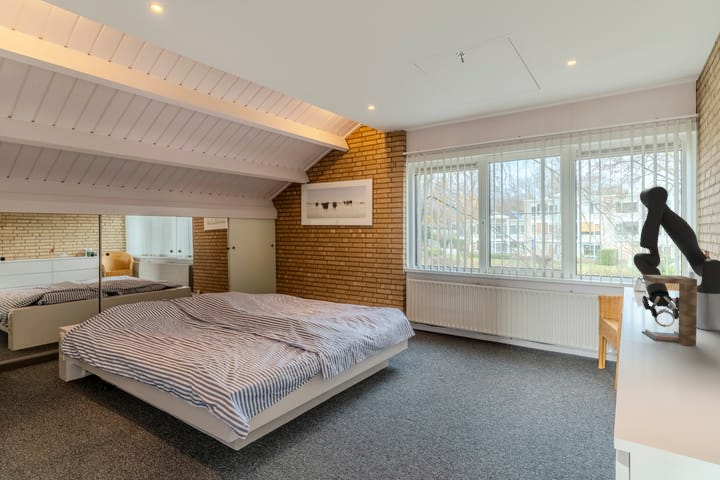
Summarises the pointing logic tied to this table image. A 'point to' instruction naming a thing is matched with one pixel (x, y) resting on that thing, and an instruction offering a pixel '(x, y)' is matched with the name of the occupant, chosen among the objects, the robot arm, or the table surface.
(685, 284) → the shelf
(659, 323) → the ring
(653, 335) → the seat
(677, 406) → the table surface
